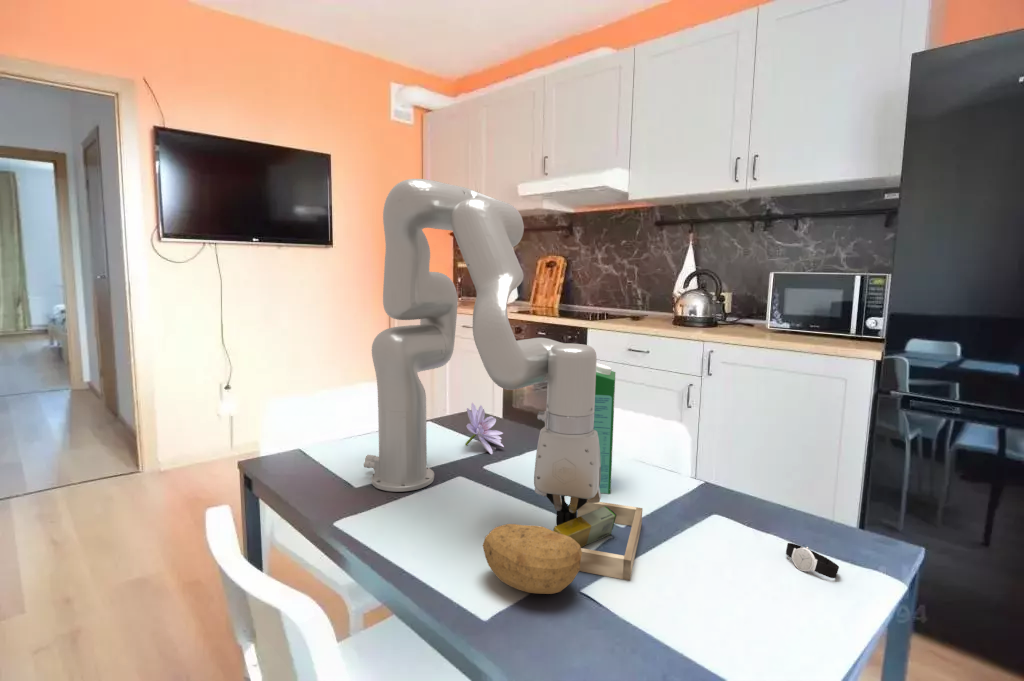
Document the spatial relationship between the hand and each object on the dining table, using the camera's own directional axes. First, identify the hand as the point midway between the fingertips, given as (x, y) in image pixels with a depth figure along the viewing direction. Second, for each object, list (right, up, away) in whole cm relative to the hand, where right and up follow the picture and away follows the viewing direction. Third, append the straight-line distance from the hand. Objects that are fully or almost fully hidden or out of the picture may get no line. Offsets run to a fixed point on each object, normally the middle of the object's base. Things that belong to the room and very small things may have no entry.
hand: (566, 531), depth 88 cm
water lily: (-15, +5, +44) cm, 47 cm away
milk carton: (+7, +2, +23) cm, 24 cm away
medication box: (+2, -1, -1) cm, 3 cm away
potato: (-6, -3, -14) cm, 15 cm away
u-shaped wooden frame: (+5, -1, -2) cm, 5 cm away
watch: (+36, -3, -8) cm, 36 cm away
